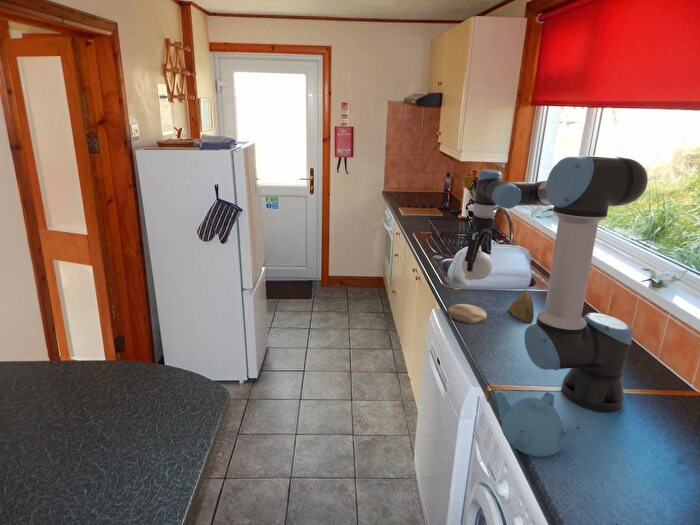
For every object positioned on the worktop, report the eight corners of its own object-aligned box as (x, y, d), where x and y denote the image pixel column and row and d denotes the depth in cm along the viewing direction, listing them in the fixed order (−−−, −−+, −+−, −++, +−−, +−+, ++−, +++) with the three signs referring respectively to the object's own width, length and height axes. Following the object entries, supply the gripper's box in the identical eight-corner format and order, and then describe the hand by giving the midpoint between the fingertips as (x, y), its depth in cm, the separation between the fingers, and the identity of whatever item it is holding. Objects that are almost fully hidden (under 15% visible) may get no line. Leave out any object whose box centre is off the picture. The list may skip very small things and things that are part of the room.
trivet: (477, 326, 165) (477, 323, 165) (441, 315, 173) (442, 312, 173) (492, 314, 176) (492, 310, 175) (458, 303, 184) (458, 300, 183)
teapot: (578, 463, 104) (588, 423, 100) (513, 464, 103) (521, 424, 99) (547, 419, 118) (555, 383, 114) (489, 419, 117) (495, 383, 113)
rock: (541, 319, 167) (538, 305, 176) (530, 301, 165) (527, 287, 174) (514, 331, 172) (512, 316, 181) (502, 313, 170) (501, 299, 179)
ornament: (454, 275, 170) (458, 244, 165) (476, 271, 174) (480, 241, 170) (473, 285, 161) (478, 253, 157) (495, 281, 166) (500, 249, 161)
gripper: (481, 223, 149) (472, 287, 156) (506, 211, 166) (497, 269, 174) (459, 219, 153) (451, 281, 161) (486, 207, 170) (478, 264, 178)
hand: (475, 274), depth 167 cm, fingers closed on ornament, 10 cm apart
